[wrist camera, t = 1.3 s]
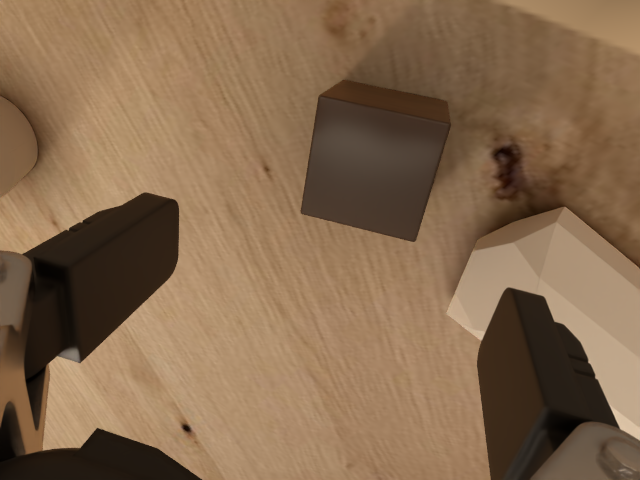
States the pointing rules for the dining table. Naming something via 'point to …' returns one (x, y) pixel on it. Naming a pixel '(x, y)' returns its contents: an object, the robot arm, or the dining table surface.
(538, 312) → the robot arm
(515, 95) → the dining table surface
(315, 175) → the walnut block
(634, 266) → the crystal
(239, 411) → the dining table surface
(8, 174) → the cup
